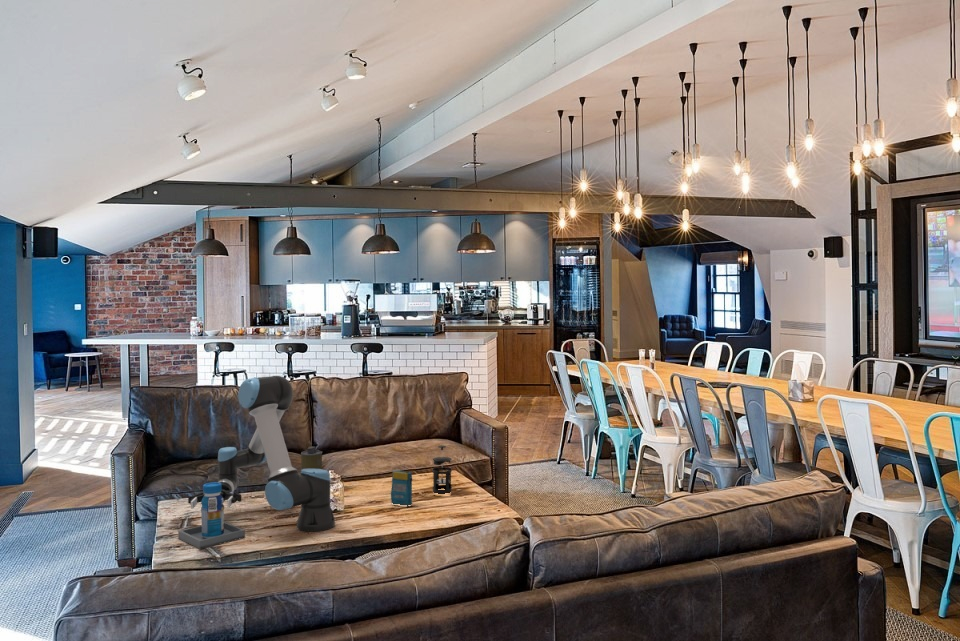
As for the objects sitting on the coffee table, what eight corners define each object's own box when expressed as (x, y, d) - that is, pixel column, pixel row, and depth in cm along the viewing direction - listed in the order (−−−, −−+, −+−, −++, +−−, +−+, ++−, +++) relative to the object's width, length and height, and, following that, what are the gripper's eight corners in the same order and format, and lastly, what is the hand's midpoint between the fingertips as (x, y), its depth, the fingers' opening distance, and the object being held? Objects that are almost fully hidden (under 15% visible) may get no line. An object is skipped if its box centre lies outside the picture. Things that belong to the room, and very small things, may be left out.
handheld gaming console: (413, 505, 323) (412, 472, 323) (408, 508, 319) (408, 474, 319) (394, 503, 327) (394, 470, 327) (389, 505, 323) (389, 472, 323)
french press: (456, 495, 341) (456, 446, 340) (440, 498, 335) (439, 449, 335) (443, 490, 350) (442, 442, 350) (426, 493, 345) (426, 445, 344)
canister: (317, 490, 351) (317, 449, 350) (297, 489, 353) (297, 448, 352) (326, 484, 361) (326, 445, 361) (307, 484, 363) (306, 444, 363)
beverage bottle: (196, 537, 277) (195, 485, 277) (211, 531, 285) (210, 481, 285) (214, 539, 274) (213, 487, 274) (229, 533, 282) (228, 482, 282)
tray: (244, 537, 280) (244, 529, 280) (199, 549, 267) (199, 541, 266) (222, 527, 292) (222, 520, 292) (178, 538, 279) (178, 530, 279)
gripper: (253, 498, 300) (243, 512, 279) (191, 500, 297) (176, 515, 276) (253, 480, 300) (243, 493, 279) (191, 482, 297) (176, 496, 276)
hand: (210, 504), depth 278 cm, fingers open, 13 cm apart
